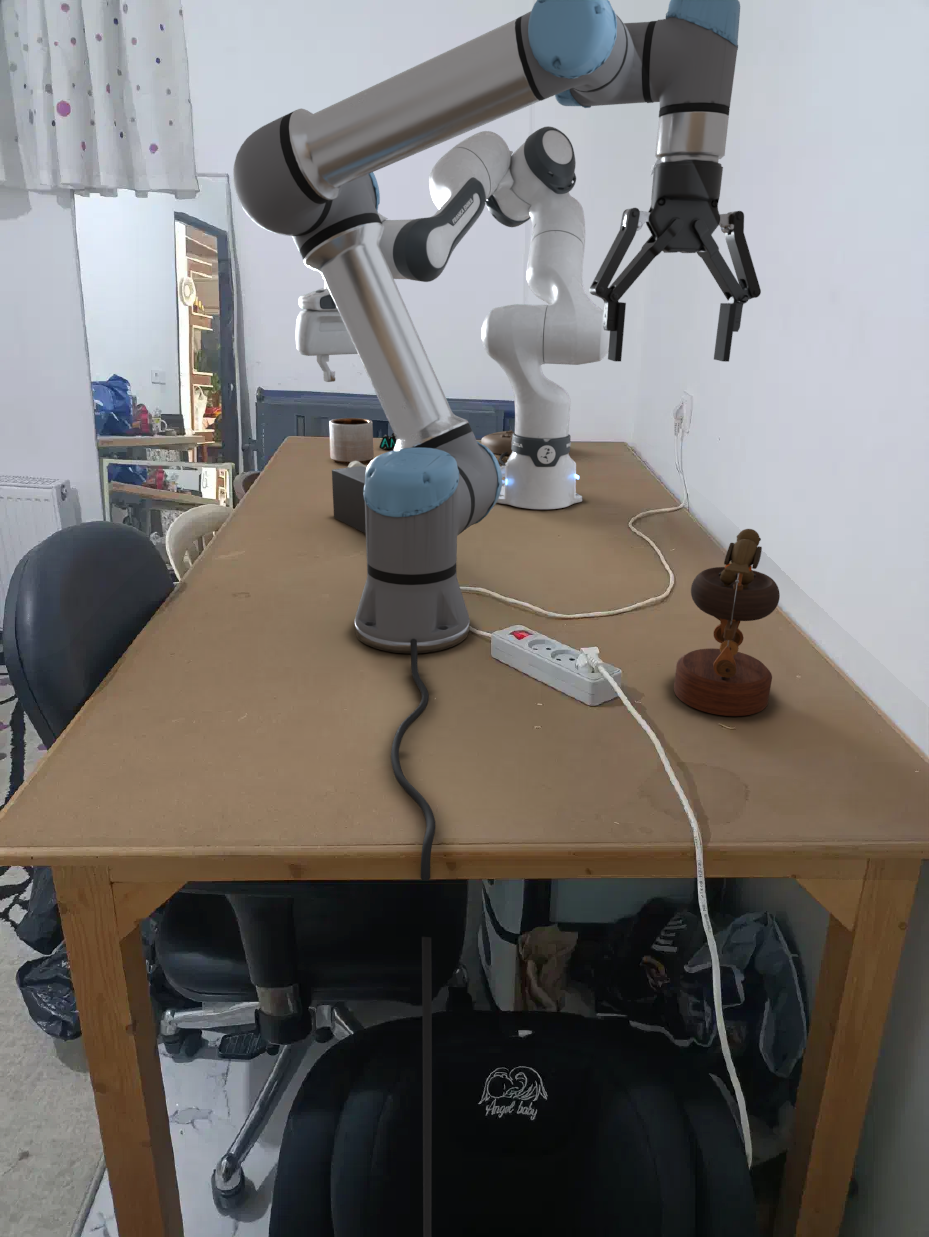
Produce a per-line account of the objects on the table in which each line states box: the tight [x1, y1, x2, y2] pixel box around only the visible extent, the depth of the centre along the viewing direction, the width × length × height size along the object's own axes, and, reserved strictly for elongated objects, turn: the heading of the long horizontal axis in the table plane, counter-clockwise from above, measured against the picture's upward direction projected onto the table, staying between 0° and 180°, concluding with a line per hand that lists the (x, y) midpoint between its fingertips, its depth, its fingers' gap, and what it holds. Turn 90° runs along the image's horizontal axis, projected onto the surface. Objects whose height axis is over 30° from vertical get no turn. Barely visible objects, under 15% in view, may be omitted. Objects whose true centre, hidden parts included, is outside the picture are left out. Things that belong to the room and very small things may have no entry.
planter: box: [328, 417, 375, 464], centre depth 212 cm, size 11×11×10 cm
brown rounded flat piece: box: [480, 429, 515, 456], centre depth 224 cm, size 21×28×4 cm
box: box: [331, 466, 366, 535], centre depth 155 cm, size 24×6×9 cm, turn 35°
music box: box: [673, 528, 781, 717], centre depth 94 cm, size 15×11×20 cm
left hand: (668, 360), depth 102 cm, fingers open, 13 cm apart
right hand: (353, 380), depth 153 cm, fingers open, 8 cm apart
